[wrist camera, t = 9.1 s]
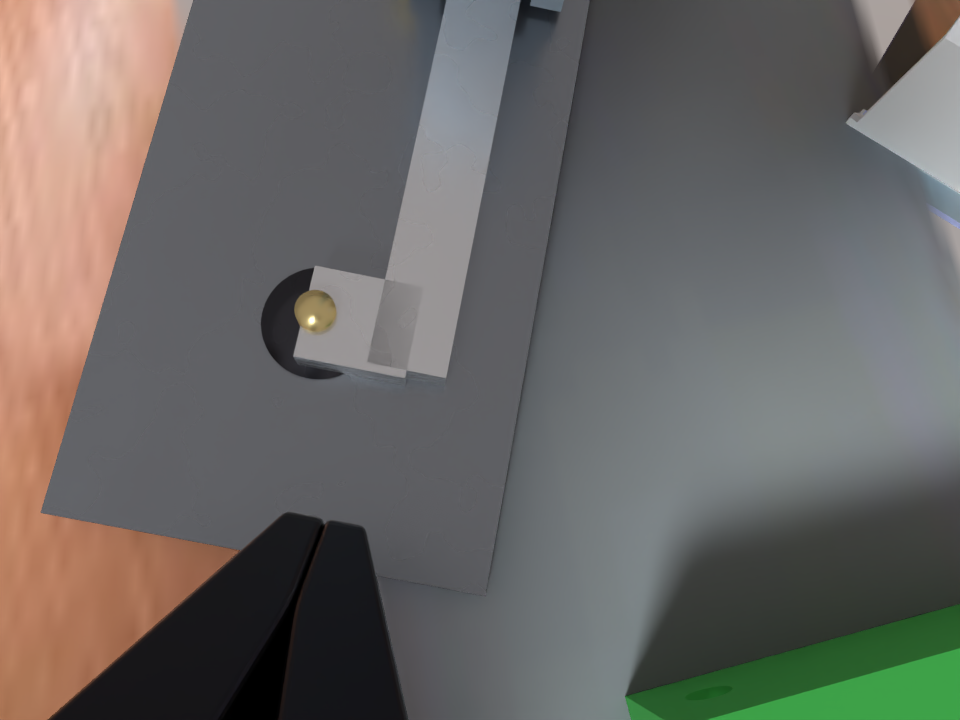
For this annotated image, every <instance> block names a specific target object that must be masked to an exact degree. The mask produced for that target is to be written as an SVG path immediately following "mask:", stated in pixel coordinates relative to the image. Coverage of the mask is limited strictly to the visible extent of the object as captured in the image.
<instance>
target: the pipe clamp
mask: <svg viewBox="0 0 960 720" xmlns="http://www.w3.org/2000/svg"><path fill="white" fill-rule="evenodd" d="M625 698H626V702H627V705H628V709H629V713H630V717H631V720H960V604H958V605H955V606H951V607H947V608H944V609H940V610H937V611H933V612H929V613H926V614H922V615H918V616H915V617H911V618H907V619H904V620H900V621H897V622H893V623H889V624H886V625H882V626H878V627H875V628H871V629H867V630H864V631H860V632H857V633H853V634H849V635H846V636H842V637H838V638H835V639H831V640H827V641H824V642H820V643H817V644H813V645H809V646H806V647H802V648H798V649H795V650H791V651H788V652H784V653H780V654H777V655H773V656H769V657H766V658H762V659H758V660H755V661H751V662H748V663H744V664H740V665H737V666H733V667H729V668H726V669H722V670H718V671H715V672H711V673H708V674H704V675H700V676H697V677H693V678H689V679H686V680H682V681H679V682H675V683H671V684H668V685H664V686H660V687H657V688H653V689H649V690H646V691H642V692H639V693H635V694H631V695H628V696H625Z"/></svg>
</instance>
